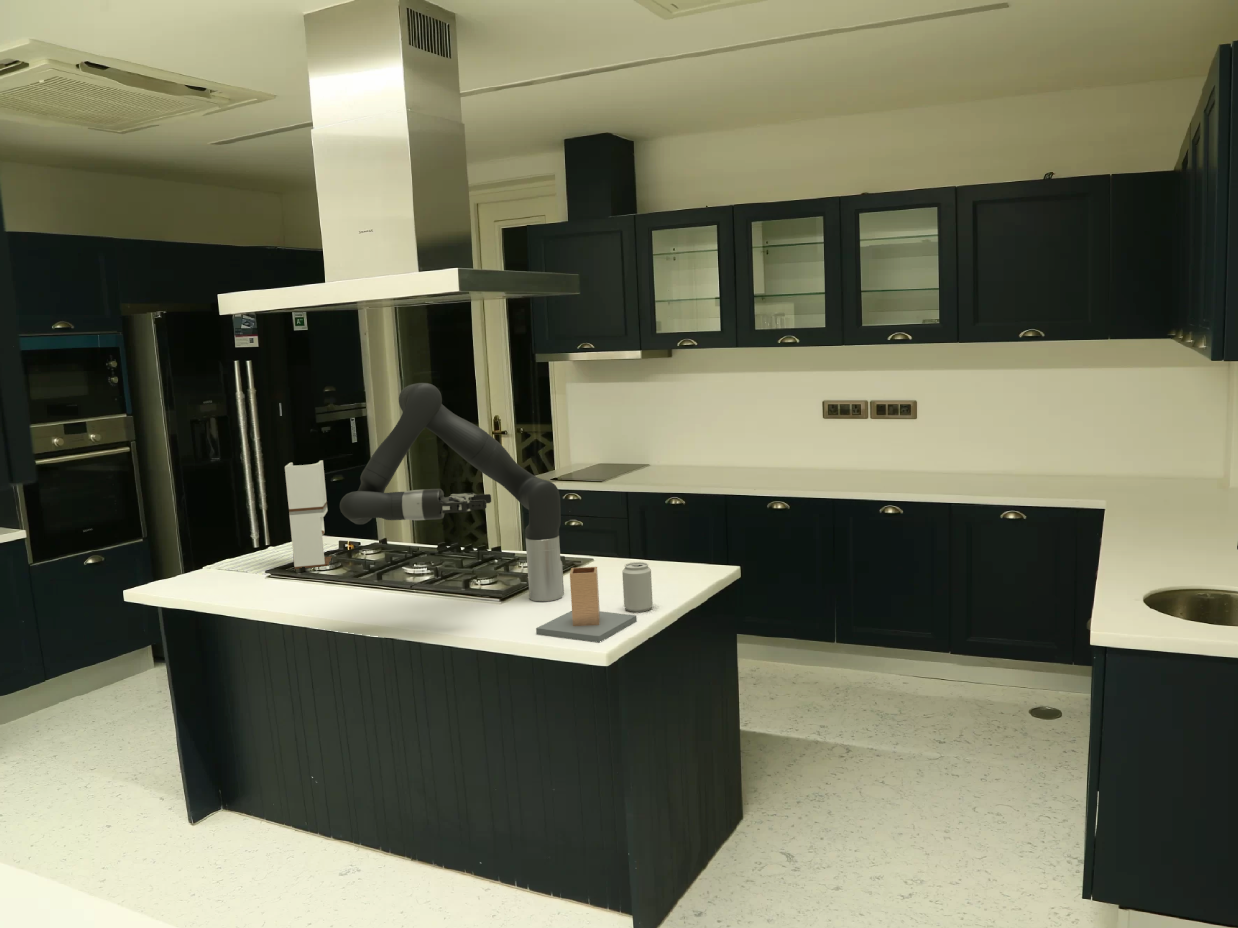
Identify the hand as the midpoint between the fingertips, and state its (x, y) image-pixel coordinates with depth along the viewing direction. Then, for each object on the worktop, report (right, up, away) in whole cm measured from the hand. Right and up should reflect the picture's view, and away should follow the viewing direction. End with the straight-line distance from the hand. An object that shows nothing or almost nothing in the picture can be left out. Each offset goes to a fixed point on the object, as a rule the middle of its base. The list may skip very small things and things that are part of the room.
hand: (488, 501), depth 242 cm
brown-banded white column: (-69, -25, +82) cm, 110 cm away
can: (+38, -29, +13) cm, 49 cm away
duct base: (+25, -31, -1) cm, 40 cm away
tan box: (+24, -30, -1) cm, 38 cm away
